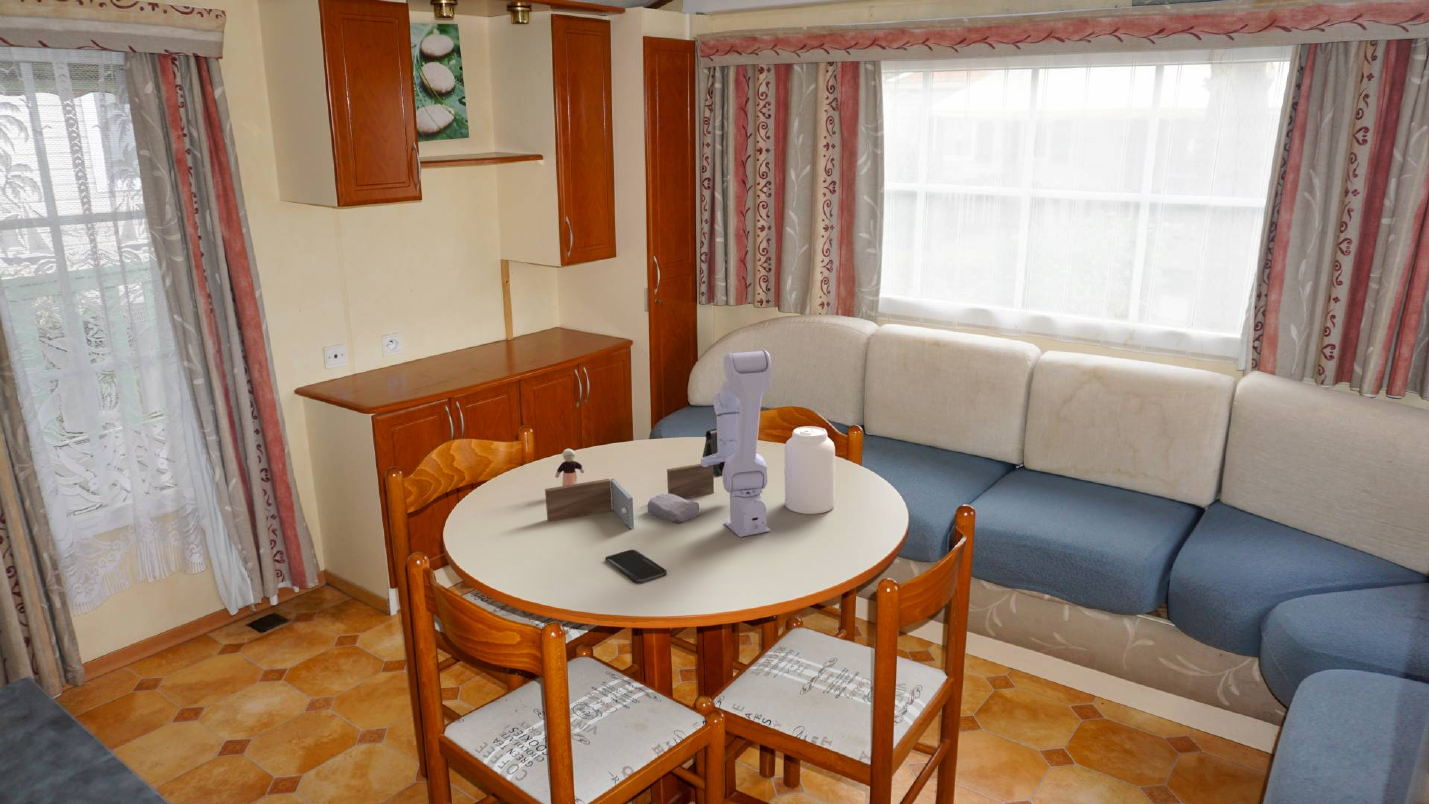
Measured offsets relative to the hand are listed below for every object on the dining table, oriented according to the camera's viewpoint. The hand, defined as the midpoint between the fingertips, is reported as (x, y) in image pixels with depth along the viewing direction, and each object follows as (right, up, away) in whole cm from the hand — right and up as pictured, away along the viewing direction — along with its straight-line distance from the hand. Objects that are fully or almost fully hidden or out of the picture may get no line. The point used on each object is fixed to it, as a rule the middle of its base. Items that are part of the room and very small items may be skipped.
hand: (729, 488), depth 250 cm
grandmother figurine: (-41, -2, +9) cm, 43 cm away
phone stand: (-3, +3, +25) cm, 25 cm away
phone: (-21, -15, -35) cm, 43 cm away
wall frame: (-25, -4, 0) cm, 25 cm away
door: (-27, -6, -8) cm, 29 cm away
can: (+20, -4, -3) cm, 21 cm away
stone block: (-13, -6, -5) cm, 15 cm away
